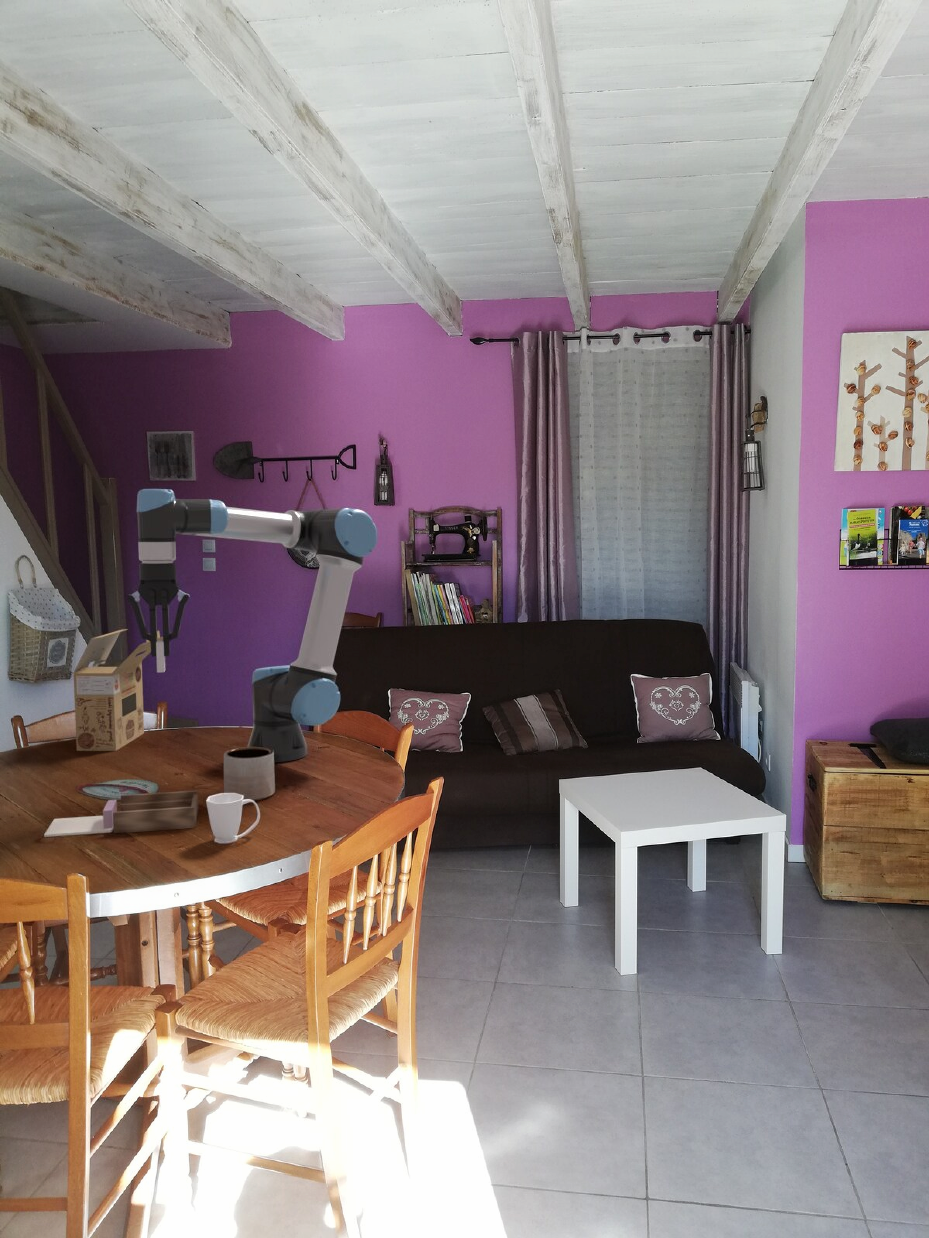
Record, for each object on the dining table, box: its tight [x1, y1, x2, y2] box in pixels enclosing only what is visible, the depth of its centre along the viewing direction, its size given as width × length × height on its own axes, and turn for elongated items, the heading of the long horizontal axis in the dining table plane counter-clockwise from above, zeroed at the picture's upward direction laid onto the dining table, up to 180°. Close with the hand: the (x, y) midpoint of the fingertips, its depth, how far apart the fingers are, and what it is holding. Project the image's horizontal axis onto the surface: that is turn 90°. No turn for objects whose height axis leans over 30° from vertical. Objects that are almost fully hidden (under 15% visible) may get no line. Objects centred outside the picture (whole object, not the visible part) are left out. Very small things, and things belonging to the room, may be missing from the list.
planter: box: [223, 746, 276, 802], centre depth 201 cm, size 11×11×10 cm
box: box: [73, 628, 163, 752], centre depth 249 cm, size 21×20×30 cm
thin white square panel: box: [43, 799, 118, 838], centre depth 180 cm, size 12×10×4 cm
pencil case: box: [113, 790, 199, 834], centre depth 183 cm, size 15×12×4 cm
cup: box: [205, 792, 261, 844], centre depth 173 cm, size 7×10×8 cm
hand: (161, 671), depth 198 cm, fingers closed
